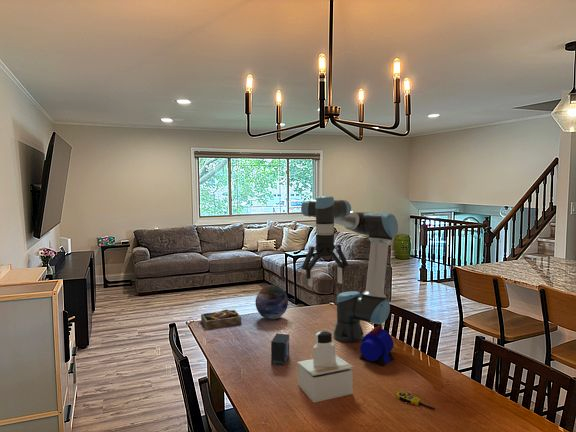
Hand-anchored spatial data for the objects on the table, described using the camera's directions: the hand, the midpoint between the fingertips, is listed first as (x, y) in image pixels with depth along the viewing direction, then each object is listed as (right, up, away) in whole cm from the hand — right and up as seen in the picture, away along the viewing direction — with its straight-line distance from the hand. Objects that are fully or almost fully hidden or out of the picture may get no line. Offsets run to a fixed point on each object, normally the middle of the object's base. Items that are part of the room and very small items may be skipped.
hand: (325, 284), depth 175 cm
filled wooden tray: (-54, -33, +67) cm, 92 cm away
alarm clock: (+24, -36, +13) cm, 45 cm away
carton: (-1, -38, -14) cm, 40 cm away
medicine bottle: (-2, -28, -15) cm, 32 cm away
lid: (-2, -28, -15) cm, 32 cm away
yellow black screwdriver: (+30, -39, -24) cm, 55 cm away
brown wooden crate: (-54, -33, +67) cm, 92 cm away
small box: (-19, -36, +13) cm, 43 cm away
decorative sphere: (-25, -32, +72) cm, 83 cm away
